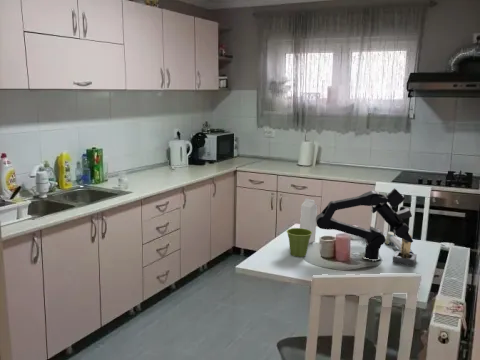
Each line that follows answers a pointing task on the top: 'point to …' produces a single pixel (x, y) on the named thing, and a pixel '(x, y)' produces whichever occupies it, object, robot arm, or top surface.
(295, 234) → the plant pot
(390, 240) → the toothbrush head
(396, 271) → the top surface
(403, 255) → the disc
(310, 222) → the milk
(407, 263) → the collar
